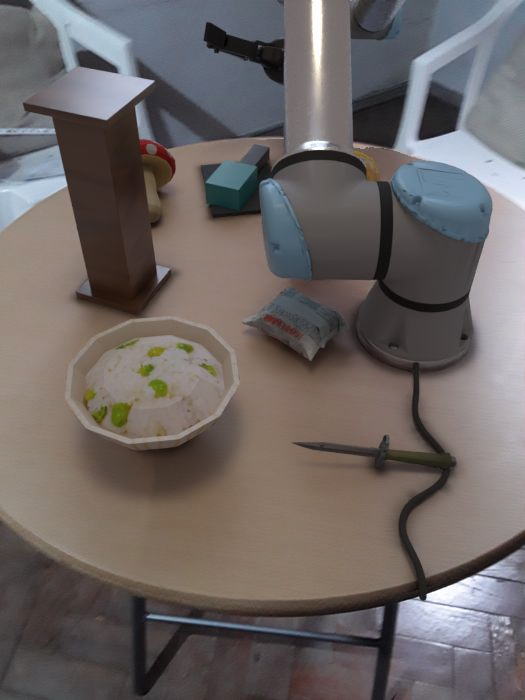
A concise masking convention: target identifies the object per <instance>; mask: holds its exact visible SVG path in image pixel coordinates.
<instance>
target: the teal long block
mask: <svg viewBox="0 0 525 700" xmlns="http://www.w3.org/2000/svg"><path fill="white" fill-rule="evenodd" d="M270 154H271V146H267V145H266V146H265V145H260V144H256V143H254V144H253V145H252V146H251V147H250V149H249V150H248V151H247V152H246V154H245V155H243V157H242V159H240V161H233V160H228V159H224V160H223V161H222V162H221V163H222V164H221V163H220V164H221V165H220V166H219V167H218V168H217V170H216V171H215V172H214V173H213V174H212V175H211V176H210V178H209V179H208V180H207V181H206V182H204V186H205V187H204V188H205V203H206V204H208V205H210V204H211V205H216V206H220V207H224V208H228V209H233V210H237V211H240V209H241V208H242V207H243V205H244V204H245V203H246V201H247V200H248V199H249V197H250V196H251V195H252V194H253V192H254V191H255V190H256V188H257V175H258V174H259V173H260V171H261V170H262V169H263V167H264V166H265V165H266V164H267V162H268V163H269V161H270V159H271V155H270ZM238 162H239V163H238Z"/></svg>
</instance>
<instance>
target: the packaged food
mask: <svg viewBox="0 0 525 700" xmlns="http://www.w3.org/2000/svg"><path fill="white" fill-rule="evenodd" d="M241 323H242V324H243V325H246V326H249V327H251V328H254V329H256V330H257V331H259V332H261V333H263V334H266V335H267V336H269V337H272V338H274V339H276V340H279V341H280V342H282V343H283V344H284V345H286V346H288V347H289V348H291V349H293V350H294V351H295V352H297V353H299V354H300V355H302V356H303V357H304V358H305V359H307V360H308V361H310V362H312V361H313V359H314V357H315V355H316V354H317V352H318V351H319V349H320V348H322V349H325V347H326V344H327V343H328V342H330V340H331V339H332V337H335V336H337V334H341V333H342V332H346V331H349V330H350V328H351V326H350V325H349V324H348V323H347V322H346V320H345V319H344V318H343V317H342V316H341V315H340V314H339V312H337V310H334V309H332V308H329V307H327V306H326V305H323V304H321V303H318V302H317V301H315V300H313V299H311V298H310V297H308V296H307V295H305V294H304V293H302V292H301V291H299V290H297V289H296V288H294V287H292V286H290V287H287V288H285V289H284V290H283V291H281V292H280V293H279V294H277V296H276V297H275V298H274V299H272V300H271V301H270V302H269V303H268V304H267V305H265V306H264V307H263V308H262V309H261V310H260V311H259V312H257V313H255V314H252V315H250V316H248V317H246V318H244V319H242V321H241Z"/></svg>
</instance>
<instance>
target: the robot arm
mask: <svg viewBox="0 0 525 700" xmlns="http://www.w3.org/2000/svg"><path fill="white" fill-rule="evenodd" d="M276 1H277V2H278V3H279V5H280V6H281V7H282V8H283V36H282V37H278V38H275V39H274V40H271V42H265V41H261V40H259V39H253V40H252V41H251V40H248V39H245V38H241V37H239V36H238V37H237V36H235V35H232V34H228V33H227V31H226V30H224V29H222V28H220V27H219V26H217V25H216V24H214V23H212V22H209V21H205V28H204V34H203V42H205V43H206V48H208V49H210V50H211V49H212V50H213V53H214V54H220V53H223V54H227V55H229V56H233V57H236V58H238V59H240V60H243V61H245V62H246V61H249V62H250V63H254V64H258V65H260V66H261V67H262V69H263V71H264V74H265V75H266V76H267V77H268V79H269V80H271V81H273V82H275V83H276V84H278V85H281V86H283V155H282V156H281V157H280V158H278V159H277V160H276V161H275V163H274V164H273V165H272V168H271V169H270V170H271V178H269V179H267V180H263V181H262V182H261V183H260V185H259V197H260V208H261V213H260V216H261V227H262V228H261V229H262V237H263V246H264V252H265V259H266V261H267V262H266V263H267V266H268V269H269V271H270V272H271V273H272V274H273V275H274V276H275V277H277V278H279V279H287V280H288V279H291V280H303V281H304V282H310V281H374V283H373V284H372V287H371V288H370V290H369V292H368V294H367V295H366V297H365V298H364V300H363V301H362V302H361V304H360V306H359V308H358V312H357V319H356V334H357V336H358V339H359V341H360V342H361V345H362V346H363V347H364V348H365V350H367V351H368V353H370V354H371V355H372V356H373V357H375V358H376V359H378V360H379V361H381V362H383V363H385V364H387V365H389V366H391V367H395V368H397V369H401V370H405V371H411V372H412V400H411V413H412V414H411V415H412V419H413V422H414V424H415V427H416V428H417V430H418V432H419V433H420V434H421V436H422V437H423V438H424V440H426V441H427V442H428V444H430V446H431V447H432V448H433V449H434V450H435V451H436V452H435V453H438V454H441V453H446V451H445V450H444V448H443V446H441V444H440V443H439V442H438V441H437V440H436V439H435V437H433V436H432V434H430V433H429V431H428V429H426V427H425V426H424V424H423V422H422V420H421V417H420V413H419V402H420V372H433V371H440V370H442V369H446V368H449V367H451V366H454V364H456V363H458V362H459V361H460V360H462V359H463V358H464V357H465V355H466V354H467V352H468V350H469V348H470V345H471V343H472V338H473V334H474V325H473V316H472V308H471V301H470V293H471V289H472V286H473V283H474V279H475V276H476V273H477V269H478V266H479V263H480V260H481V257H482V252H483V249H484V246H485V243H486V241H487V240H486V239H488V236H489V235H490V224H491V219H492V213H493V206H494V205H493V199H492V197H491V194H490V192H489V190H488V189H487V187H486V186H485V185H484V184H483V182H481V181H480V180H479V179H478V178H477V177H475V176H474V175H472V174H470V173H468V172H467V171H466V170H464V169H462V168H459V167H457V166H454V165H451V164H449V163H444V162H440V161H435V160H413V161H409V162H408V163H407V164H406V163H405V164H402V165H400V166H399V167H398V168H397V169H396V171H395V173H394V174H393V175H392V177H391V180H388V181H387V180H380V181H367V170H366V165H365V163H364V161H363V160H362V159H361V158H360V157H358V156H357V155H355V154H354V153H353V151H354V125H353V124H354V123H353V121H354V120H353V119H354V117H353V84H352V83H353V82H352V80H353V79H352V78H353V77H352V45H351V43H352V41H351V40H374V41H384V40H395V39H396V38H397V37H398V36H399V34H400V32H401V28H402V22H403V6H404V3H405V2H406V1H407V0H276ZM441 471H442V472H441V475H440V476H439V477H438V479H437V481H435V482H434V483H433V484H432V485H430V486H429V487H427V488H426V489H424V490H422V491H421V492H419V493H417V494H416V495H414V496H412V498H411V499H409V500H408V501H407V502H406V503H405V504H404V506H403V508H402V509H401V511H400V513H399V518H398V532H399V536H400V540H401V542H402V545H403V547H404V548H405V549H404V550H405V551H406V553H407V556H408V557H409V559H410V561H411V564H412V566H413V568H414V571H415V574H416V579H417V586H418V598H419V600H420V601H422V602H425V601H426V600H427V598H428V591H427V590H428V589H427V579H426V574H425V571H424V569H423V565H422V563H421V560H420V558H419V556H418V553H417V552H416V550H415V548H414V546H413V544H412V542H411V540H410V538H409V535H408V532H407V520H408V517H409V514H410V512H411V511H412V509H413V508H414V507H415V506H416V505H417V504H419V503H420V502H421V501H424V500H425V499H426V498H428V497H430V496H431V495H433V494H434V493H436V492H438V491H439V490H440V489H441V488H442V487H443V486H444V485H445V484H446V482H447V481H448V479H449V477H450V471H451V469H450V470H447V469H443V470H441ZM396 696H397V692H396V693H395V694H394V695H393V696H392V698H391V699H390V700H395V699H396Z"/></svg>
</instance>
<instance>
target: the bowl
mask: <svg viewBox="0 0 525 700" xmlns="http://www.w3.org/2000/svg"><path fill="white" fill-rule="evenodd" d="M236 353H237V352H236V350H235V349H234V348H233V347H232V346H231V345H230V344H229V343H228V342H226V340H225V339H223V337H221V336H220V334H218V333H217V332H216V331H215V330H214V329H213V328H212V327H211V326H209V325H205V324H202V323H198V322H195V321H191V320H189V319H186V318H181V317H178V316H174V315H167V316H154V317H143V318H142V317H141V318H129V319H128V320H125V321H123V322H121V323H119V324H117V325H115V326H113V327H111V328H109V329H106V330H104V331H102V332H100V333H98V334H95V335H93V336H92V337H91V338H90V339H89V340H88V341H87V342H86V344H85V345H84V346H83V347H82V348H81V350H80V351H79V352H78V353H77V354H76V355H75V356H74V357H73V359H72V360H71V361H70V362H69V363H68V364H67V371H66V379H65V389H64V400H65V402H66V403H67V405H68V406H69V408H70V409H71V410H72V412H73V413H74V414H75V415H76V417H77V419H78V420H79V421H80V422H81V424H82V425H83V427H84V428H85V429H86V430H87V431H89V432H91V433H92V434H94V435H96V436H97V437H99V438H100V439H103V440H106V441H109V442H112V443H113V444H117V445H119V446H122V447H126V448H128V449H131V450H134V451H146V450H148V451H149V450H159V449H169V448H177V447H179V446H181V445H183V444H184V443H186V442H188V441H190V440H192V439H194V437H195V438H196V437H197V436H199V435H200V434H202V433H204V432H205V431H207V430H209V429H211V428H212V427H213V426H214V425H215V423H216V422H217V421H218V420H219V418H220V417H221V415H222V413H223V412H224V411H225V409H226V407H227V405H228V404H229V402H230V400H231V399H232V397H233V396H234V393H235V392H236V390H237V388H238V387H239V386H240V377H239V375H240V374H239V369H238V362H237V361H238V360H237V354H236Z"/></svg>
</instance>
